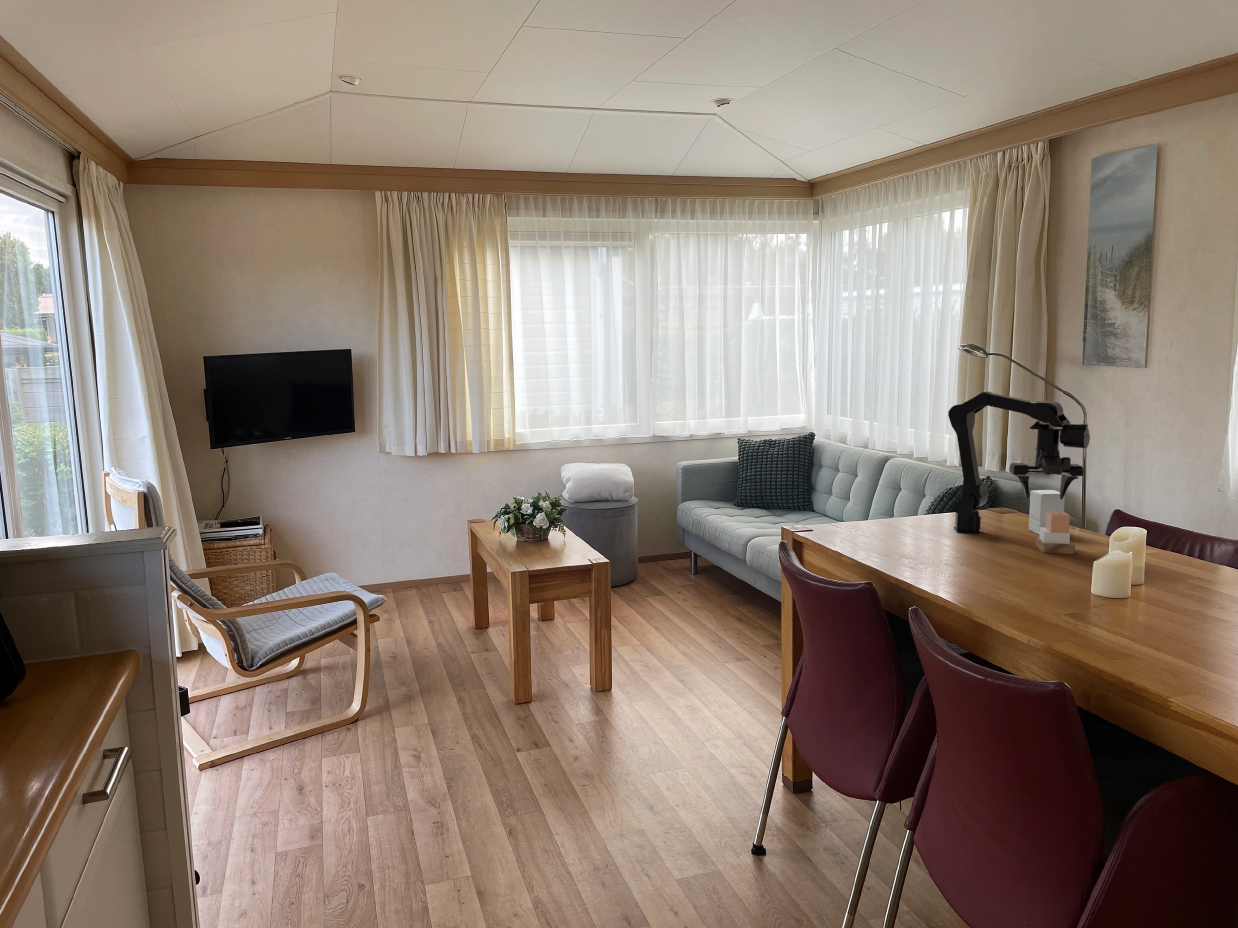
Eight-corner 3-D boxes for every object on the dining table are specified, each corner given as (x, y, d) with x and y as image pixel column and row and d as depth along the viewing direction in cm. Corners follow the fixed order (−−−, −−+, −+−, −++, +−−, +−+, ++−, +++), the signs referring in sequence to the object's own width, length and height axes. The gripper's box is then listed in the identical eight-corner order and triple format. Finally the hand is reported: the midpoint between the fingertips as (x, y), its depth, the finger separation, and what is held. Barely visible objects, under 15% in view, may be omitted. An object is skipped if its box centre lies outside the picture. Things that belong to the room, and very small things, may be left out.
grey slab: (1043, 542, 240) (1044, 532, 239) (1039, 537, 246) (1039, 527, 246) (1069, 544, 238) (1070, 533, 238) (1064, 538, 244) (1065, 528, 244)
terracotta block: (1050, 532, 239) (1051, 514, 239) (1045, 528, 244) (1047, 511, 243) (1068, 532, 238) (1069, 515, 238) (1063, 529, 243) (1064, 511, 242)
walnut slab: (1043, 554, 239) (1043, 543, 239) (1035, 547, 247) (1036, 537, 247) (1074, 555, 238) (1075, 544, 237) (1065, 548, 245) (1066, 538, 245)
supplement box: (1063, 534, 260) (1065, 493, 258) (1038, 535, 260) (1040, 494, 258) (1051, 529, 267) (1054, 489, 265) (1027, 529, 267) (1029, 489, 265)
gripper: (1020, 448, 242) (1016, 503, 244) (1092, 449, 238) (1088, 505, 240) (1010, 443, 252) (1007, 495, 255) (1079, 444, 249) (1075, 497, 251)
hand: (1044, 498), depth 250 cm, fingers open, 9 cm apart
